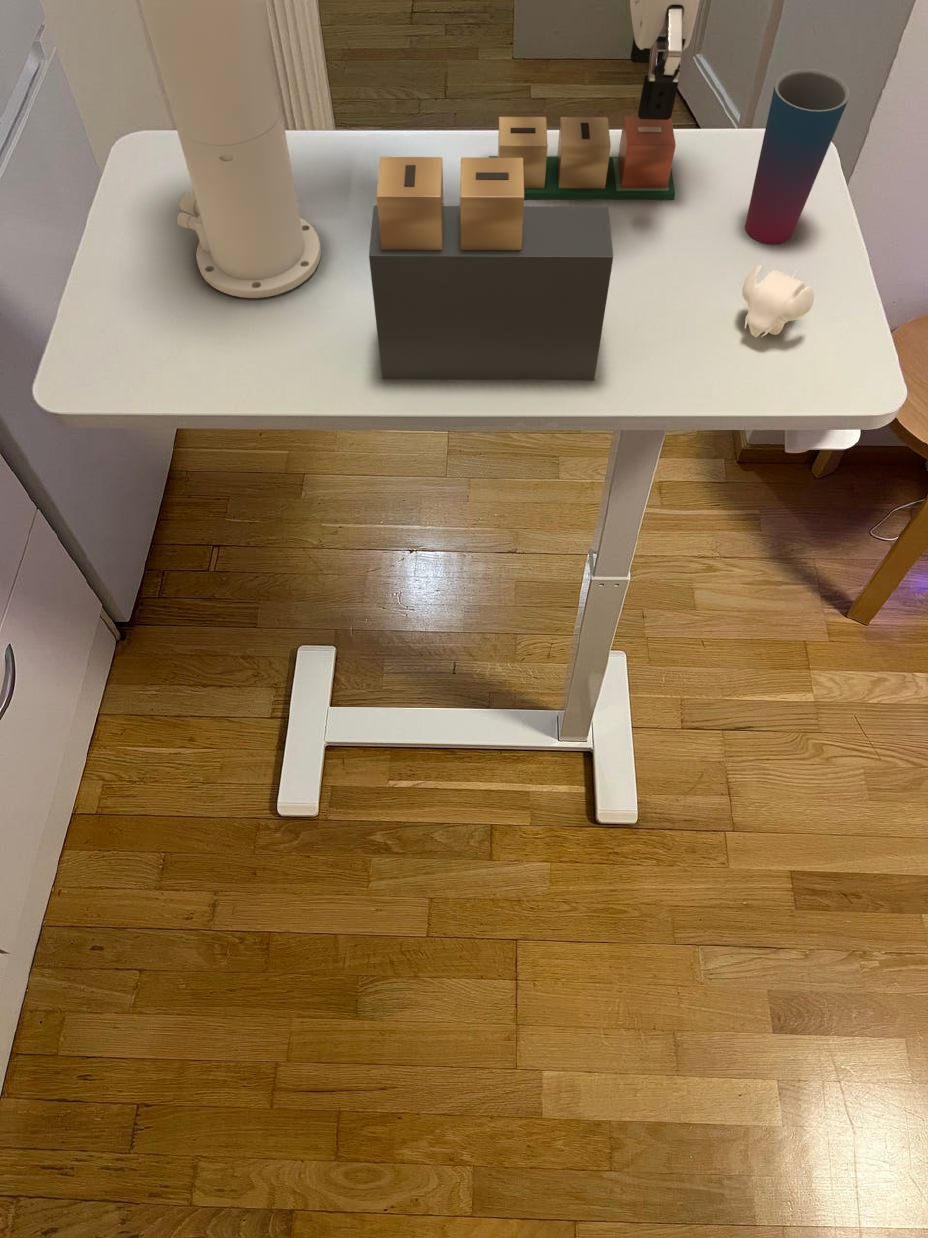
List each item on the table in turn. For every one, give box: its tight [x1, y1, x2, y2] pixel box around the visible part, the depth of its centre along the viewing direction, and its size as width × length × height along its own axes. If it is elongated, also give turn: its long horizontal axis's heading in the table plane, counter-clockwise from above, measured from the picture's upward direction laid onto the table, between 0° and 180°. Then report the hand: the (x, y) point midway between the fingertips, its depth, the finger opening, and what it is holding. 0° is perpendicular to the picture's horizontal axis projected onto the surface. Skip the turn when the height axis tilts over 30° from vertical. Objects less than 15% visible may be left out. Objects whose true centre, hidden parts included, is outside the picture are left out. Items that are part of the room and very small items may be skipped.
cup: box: [744, 67, 851, 245], centre depth 96 cm, size 7×7×15 cm
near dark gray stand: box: [368, 156, 614, 381], centre depth 85 cm, size 20×6×19 cm, turn 89°
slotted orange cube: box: [617, 115, 677, 188], centre depth 103 cm, size 5×5×5 cm
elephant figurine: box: [741, 264, 815, 338], centre depth 92 cm, size 7×8×6 cm
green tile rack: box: [488, 116, 676, 201], centre depth 104 cm, size 20×6×6 cm, turn 89°
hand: (649, 88), depth 97 cm, fingers open, 9 cm apart
